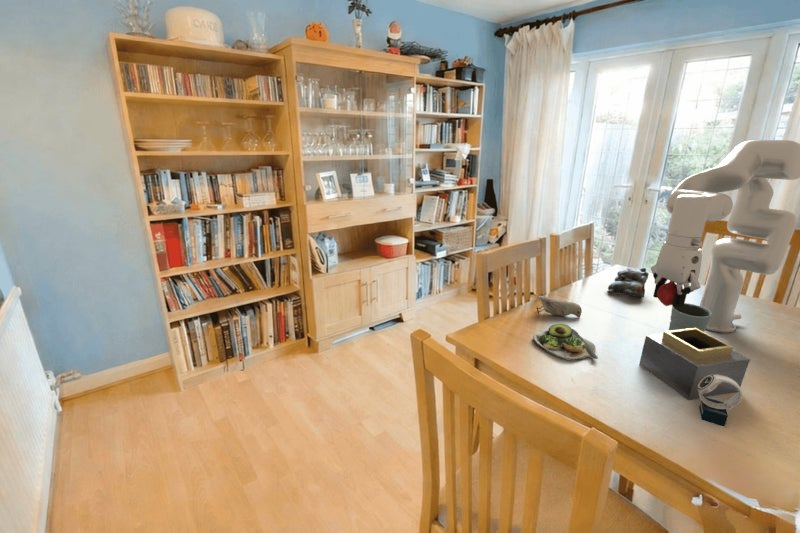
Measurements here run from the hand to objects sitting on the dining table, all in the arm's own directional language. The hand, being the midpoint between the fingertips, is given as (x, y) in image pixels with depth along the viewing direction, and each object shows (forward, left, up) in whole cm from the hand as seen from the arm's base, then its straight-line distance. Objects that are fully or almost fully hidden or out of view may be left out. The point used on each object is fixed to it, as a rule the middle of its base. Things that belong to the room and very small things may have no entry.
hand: (667, 300), depth 107 cm
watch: (+7, +24, -20) cm, 31 cm away
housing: (-1, +10, -19) cm, 22 cm away
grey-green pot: (-17, -6, -20) cm, 27 cm away
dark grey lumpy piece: (-29, -44, -20) cm, 57 cm away
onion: (0, 0, -2) cm, 2 cm away
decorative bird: (+11, -33, -20) cm, 40 cm away
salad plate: (+22, -13, -20) cm, 32 cm away
